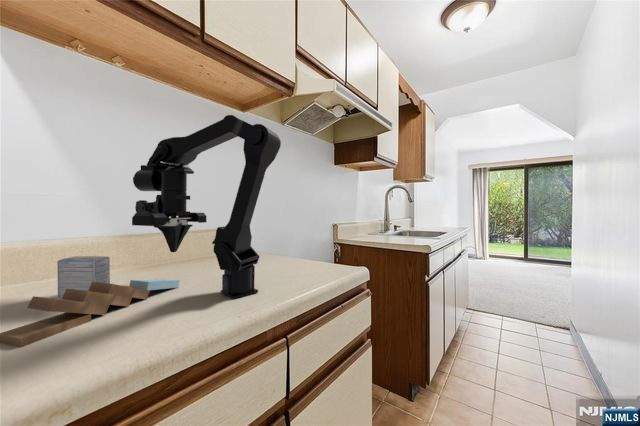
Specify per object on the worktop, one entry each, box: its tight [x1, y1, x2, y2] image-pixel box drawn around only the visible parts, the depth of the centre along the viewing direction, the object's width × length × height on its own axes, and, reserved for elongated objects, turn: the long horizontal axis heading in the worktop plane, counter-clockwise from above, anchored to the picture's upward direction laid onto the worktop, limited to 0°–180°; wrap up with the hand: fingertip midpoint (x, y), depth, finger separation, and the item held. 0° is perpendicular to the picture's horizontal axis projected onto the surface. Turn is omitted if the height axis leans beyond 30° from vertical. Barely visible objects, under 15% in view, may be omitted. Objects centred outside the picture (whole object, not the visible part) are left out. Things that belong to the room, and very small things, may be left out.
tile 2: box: [88, 282, 151, 300], centre depth 53 cm, size 2×5×9 cm
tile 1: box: [128, 278, 180, 291], centre depth 62 cm, size 2×5×9 cm
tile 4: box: [26, 296, 110, 316], centre depth 45 cm, size 2×5×9 cm
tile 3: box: [62, 289, 133, 308], centre depth 49 cm, size 2×5×9 cm
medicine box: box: [56, 255, 111, 299], centre depth 57 cm, size 8×4×9 cm, turn 92°
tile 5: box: [0, 312, 92, 348], centre depth 42 cm, size 2×5×9 cm
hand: (173, 252), depth 67 cm, fingers closed
